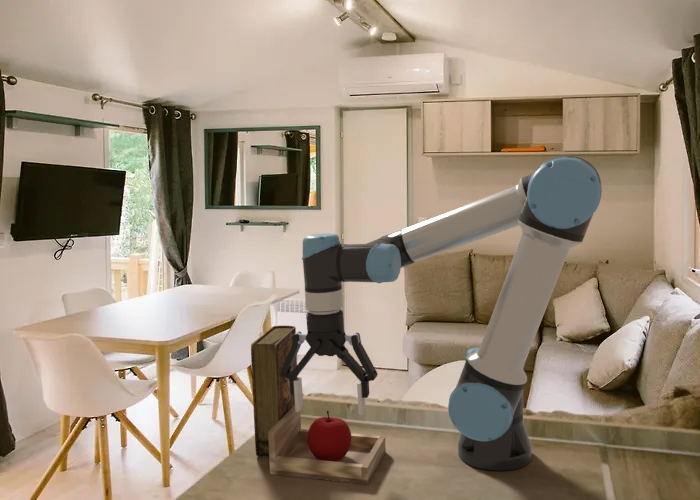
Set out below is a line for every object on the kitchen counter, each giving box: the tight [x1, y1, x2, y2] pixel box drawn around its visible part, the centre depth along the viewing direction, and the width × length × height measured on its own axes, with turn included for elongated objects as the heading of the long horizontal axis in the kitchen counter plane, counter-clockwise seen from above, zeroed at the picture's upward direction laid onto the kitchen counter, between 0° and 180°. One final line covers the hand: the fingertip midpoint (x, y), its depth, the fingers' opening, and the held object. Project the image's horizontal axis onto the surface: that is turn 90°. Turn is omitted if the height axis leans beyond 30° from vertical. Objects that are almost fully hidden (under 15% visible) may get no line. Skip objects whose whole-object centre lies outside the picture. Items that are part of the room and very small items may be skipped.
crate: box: [268, 405, 387, 486], centre depth 145 cm, size 20×15×9 cm
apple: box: [307, 410, 352, 462], centre depth 145 cm, size 9×9×10 cm
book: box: [250, 325, 298, 457], centre depth 155 cm, size 16×6×25 cm, turn 169°
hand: (330, 411), depth 144 cm, fingers open, 13 cm apart
